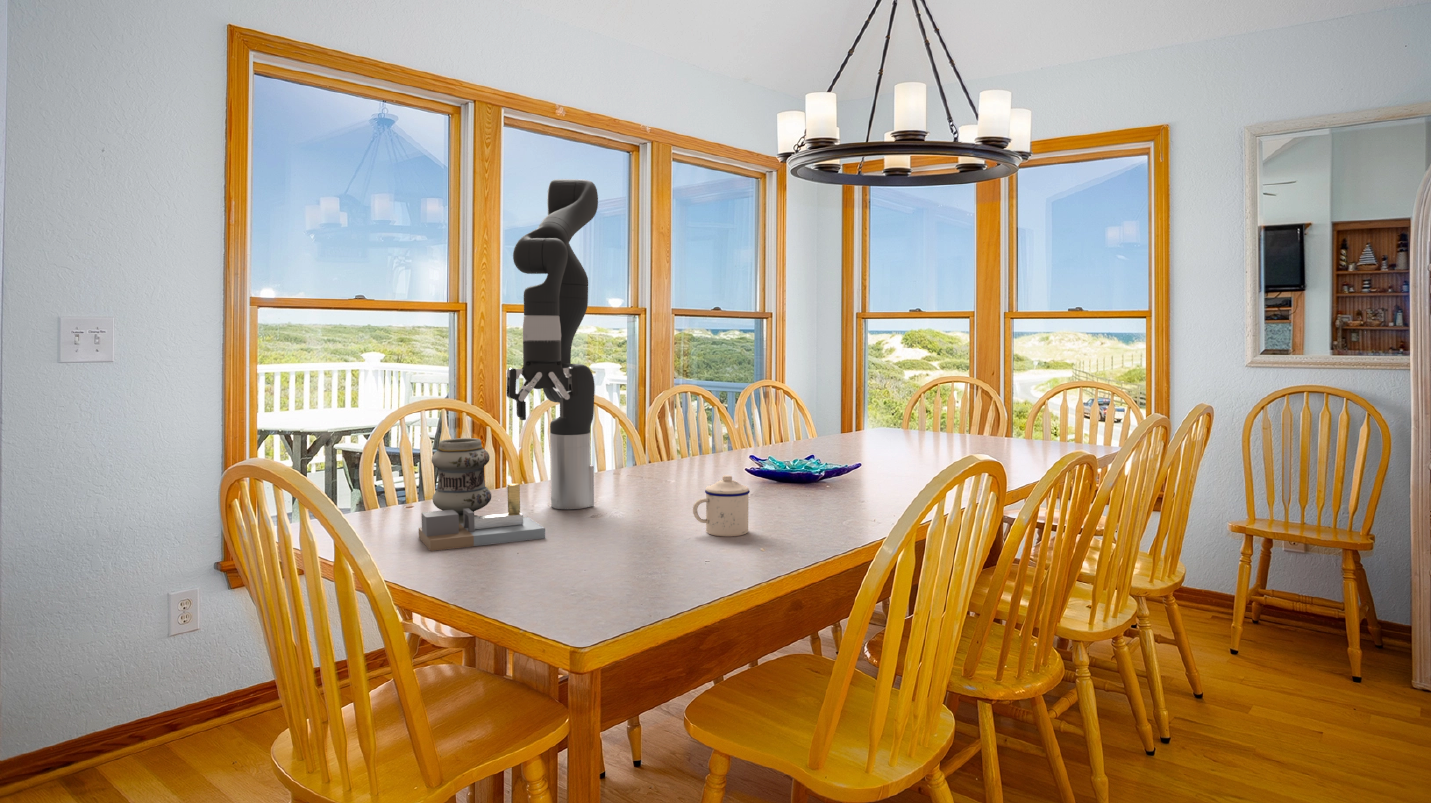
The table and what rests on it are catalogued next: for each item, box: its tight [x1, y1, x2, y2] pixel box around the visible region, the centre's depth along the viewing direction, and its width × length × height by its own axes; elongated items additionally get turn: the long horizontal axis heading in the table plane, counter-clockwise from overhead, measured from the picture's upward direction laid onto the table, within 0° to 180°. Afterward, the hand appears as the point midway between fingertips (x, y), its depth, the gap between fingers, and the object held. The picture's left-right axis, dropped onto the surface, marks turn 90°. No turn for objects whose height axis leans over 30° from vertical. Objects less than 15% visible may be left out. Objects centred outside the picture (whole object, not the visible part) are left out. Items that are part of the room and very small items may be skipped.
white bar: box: [474, 483, 524, 529], centre depth 178 cm, size 10×2×8 cm, turn 118°
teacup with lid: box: [692, 474, 750, 538], centre depth 181 cm, size 12×9×12 cm
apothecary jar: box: [431, 437, 492, 524], centre depth 189 cm, size 12×12×18 cm
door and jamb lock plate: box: [418, 508, 546, 552], centre depth 177 cm, size 22×12×6 cm, turn 118°
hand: (543, 418), depth 181 cm, fingers open, 8 cm apart
